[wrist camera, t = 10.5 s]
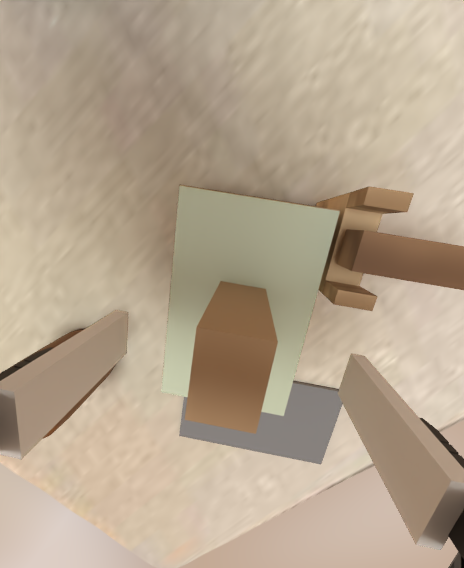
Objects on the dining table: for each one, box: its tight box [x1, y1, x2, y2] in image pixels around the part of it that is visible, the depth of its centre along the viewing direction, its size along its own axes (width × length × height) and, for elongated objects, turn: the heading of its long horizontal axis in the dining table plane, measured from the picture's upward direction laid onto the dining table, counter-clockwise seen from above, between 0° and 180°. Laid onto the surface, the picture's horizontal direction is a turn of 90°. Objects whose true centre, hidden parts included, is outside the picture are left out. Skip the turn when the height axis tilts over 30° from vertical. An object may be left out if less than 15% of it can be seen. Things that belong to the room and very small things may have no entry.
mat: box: [179, 381, 343, 464], centre depth 30 cm, size 12×20×1 cm, turn 81°
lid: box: [161, 186, 340, 434], centre depth 15 cm, size 18×11×10 cm, turn 171°
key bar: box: [337, 229, 464, 290], centre depth 14 cm, size 3×12×3 cm, turn 81°
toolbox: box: [162, 185, 414, 379], centre depth 21 cm, size 19×14×10 cm
